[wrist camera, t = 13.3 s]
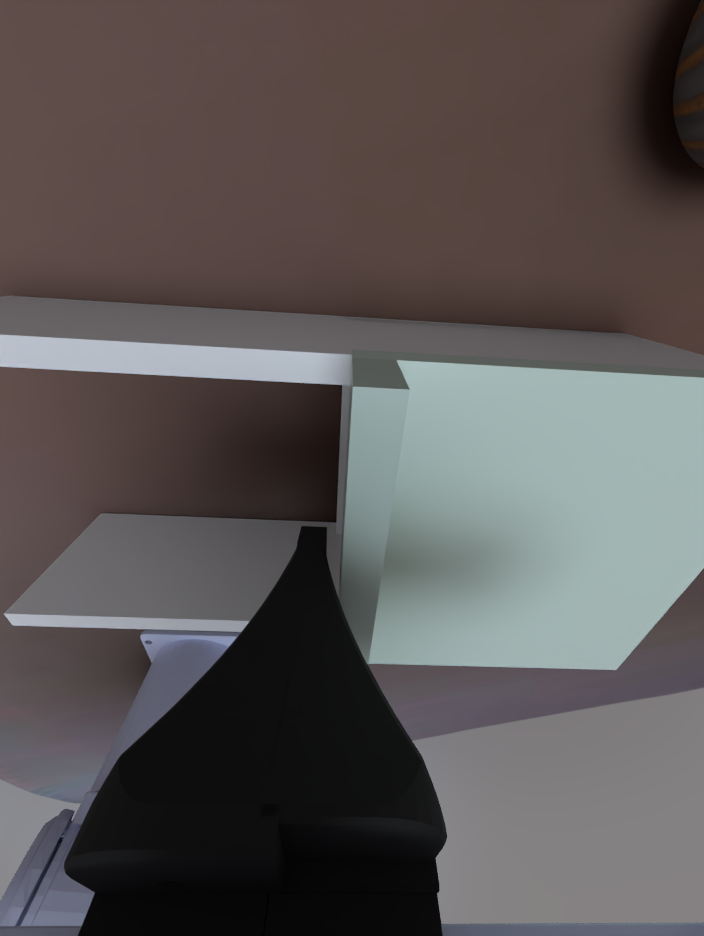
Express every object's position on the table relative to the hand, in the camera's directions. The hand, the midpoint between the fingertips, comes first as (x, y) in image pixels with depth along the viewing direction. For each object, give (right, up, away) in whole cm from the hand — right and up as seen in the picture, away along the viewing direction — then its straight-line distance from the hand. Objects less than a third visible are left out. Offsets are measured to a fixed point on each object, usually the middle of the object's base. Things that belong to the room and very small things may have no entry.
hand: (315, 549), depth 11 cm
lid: (+7, 0, +1) cm, 7 cm away
